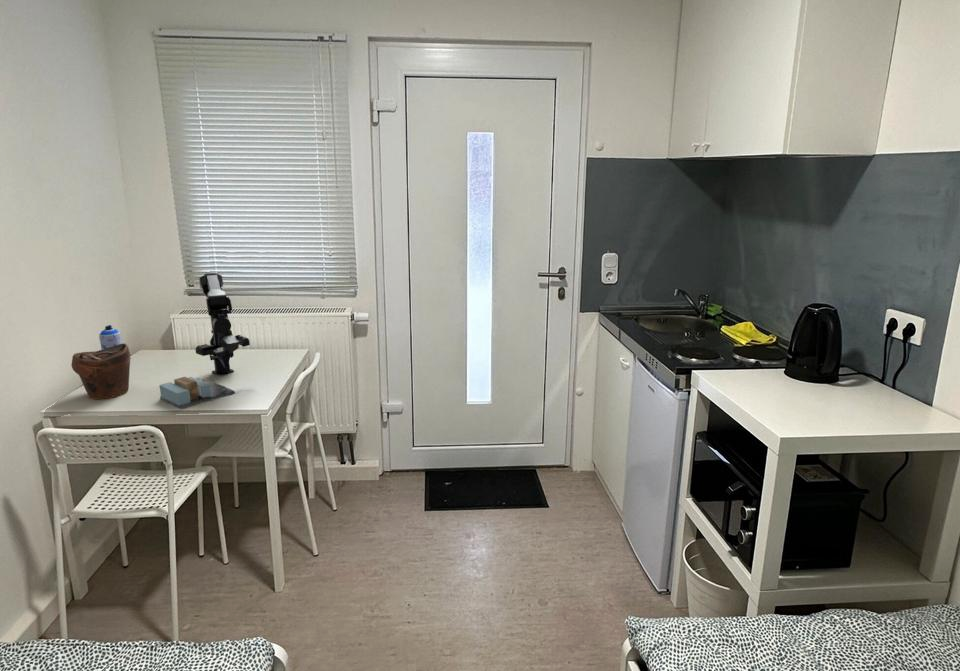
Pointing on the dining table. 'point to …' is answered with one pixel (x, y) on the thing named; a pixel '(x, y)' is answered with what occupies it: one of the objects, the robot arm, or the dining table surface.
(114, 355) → the brown tapered container
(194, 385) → the walnut block
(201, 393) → the moving jaw
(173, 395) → the block
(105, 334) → the aerosol can
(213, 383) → the vise bed
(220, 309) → the robot arm
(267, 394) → the dining table surface
